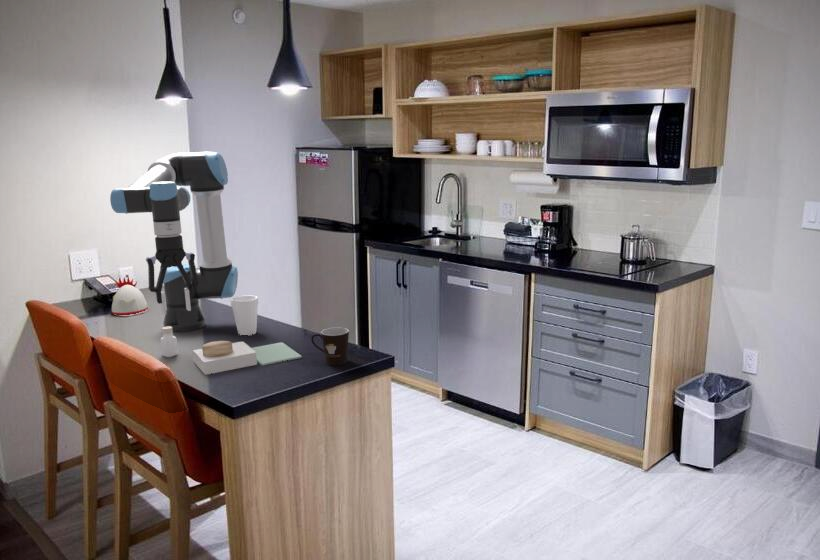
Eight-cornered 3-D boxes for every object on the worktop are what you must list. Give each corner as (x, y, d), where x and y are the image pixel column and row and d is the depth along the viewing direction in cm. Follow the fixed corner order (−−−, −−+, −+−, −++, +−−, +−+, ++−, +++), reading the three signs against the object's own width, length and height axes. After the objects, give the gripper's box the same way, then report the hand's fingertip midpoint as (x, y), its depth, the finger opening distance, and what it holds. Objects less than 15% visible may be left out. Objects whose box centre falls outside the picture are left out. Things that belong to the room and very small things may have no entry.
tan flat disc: (199, 351, 213) (199, 344, 213) (228, 346, 218) (227, 339, 217) (206, 358, 206) (206, 351, 205) (236, 353, 210) (235, 345, 210)
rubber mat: (244, 350, 226) (244, 349, 225) (282, 343, 232) (282, 342, 232) (262, 365, 210) (262, 363, 210) (301, 357, 217) (301, 355, 217)
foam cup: (231, 332, 248) (228, 297, 245) (256, 328, 252) (253, 294, 249) (237, 338, 240) (234, 302, 237) (263, 334, 244) (260, 299, 241)
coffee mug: (356, 361, 212) (354, 330, 210) (335, 368, 206) (333, 337, 203) (331, 354, 219) (329, 324, 217) (310, 361, 213) (308, 330, 211)
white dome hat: (114, 310, 286) (109, 275, 283) (149, 306, 290) (145, 272, 287) (110, 318, 273) (105, 281, 270) (147, 314, 277) (142, 278, 274)
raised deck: (194, 362, 216) (193, 350, 215) (243, 352, 223) (242, 341, 223) (205, 374, 204) (204, 362, 203) (257, 364, 212) (256, 352, 211)
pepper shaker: (172, 352, 226) (169, 325, 224) (179, 354, 224) (176, 327, 222) (161, 355, 223) (158, 328, 221) (168, 358, 221) (164, 330, 219)
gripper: (135, 240, 190) (144, 319, 195) (205, 233, 200) (212, 309, 205) (131, 237, 197) (140, 314, 202) (198, 230, 206) (206, 304, 211)
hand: (176, 311), depth 203 cm, fingers open, 6 cm apart
